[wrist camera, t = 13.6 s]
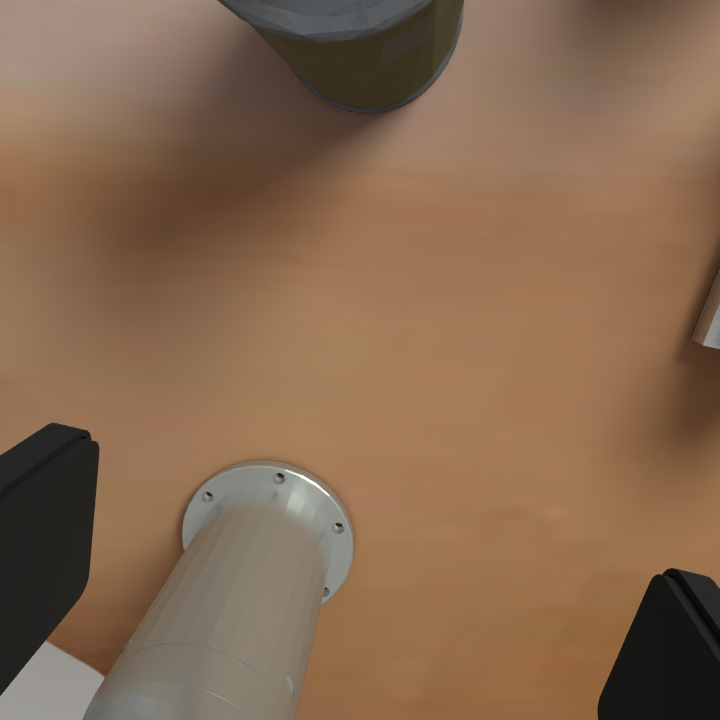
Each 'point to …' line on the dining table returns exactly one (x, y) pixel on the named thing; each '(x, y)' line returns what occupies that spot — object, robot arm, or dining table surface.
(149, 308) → the dining table surface
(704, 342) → the finger rail
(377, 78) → the canister
